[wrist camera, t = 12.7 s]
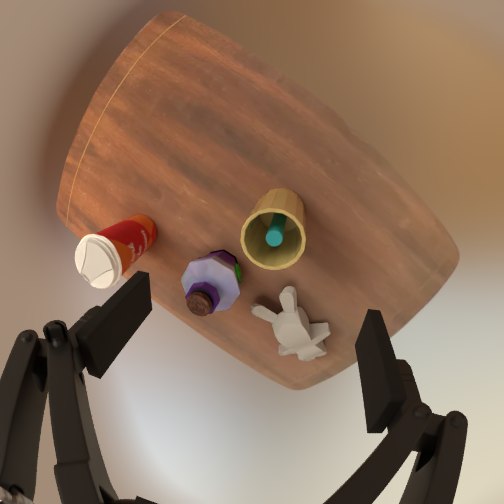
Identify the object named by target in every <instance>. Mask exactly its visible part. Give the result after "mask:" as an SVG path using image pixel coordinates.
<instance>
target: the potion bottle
mask: <svg viewBox="0 0 504 504" xmlns="http://www.w3.org/2000/svg"><path fill="white" fill-rule="evenodd" d="M241 281H242V273H241V269H240V266H239V265H238V263H237V259H236V257H235V256H234V255H232V254H230V253H229V252H227V251H225V250H219V251H213V252H211V253H210V254H209V255H207V256H205V257H200V258H198V259H196V260H194V261H192V262H190V263H189V265H188V267H187V269H186V271H185V273H184V275H183V276H182V278H181V282H182V285H183V288H184V290H185V293H186V296H185V298H186V300H187V306H188V308H189V309H190V311H191V312H192V313H194V314H196V315H198V316H206V315H207V314H211V313H213V312H214V311H220V310H229V309H230V307H231V306H232V304H233V303H234V301H235V300H236V299H237V297H238V296H239V294H240V282H241Z"/></svg>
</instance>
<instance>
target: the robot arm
mask: <svg viewBox="0 0 504 504" xmlns="http://www.w3.org/2000/svg"><path fill="white" fill-rule="evenodd" d="M151 311H152V303H151V292H150V280H149V273H147V272H142V271H137V272H136V273H135V274H134V275H133V276H132V277H131V278H130V279H129V280H128V281H127V282H126V283H125V284H124V285H123V286H122V287H121V288H120V289H119V290H118V291H117V292H116V293H115V294H114V295H113V296H111V297H110V298H109V299H108V300H107V301H106V303H104V305H102V306H101V307H100V306H95V307H93V308H91V309H90V310H88V311H87V312H86V313H85V314H84V316H82V317H81V318H80V320H78V321H77V322H76V323H75V324H74V325H73V326H72V327H71V328H70V329H69V330H67V327H66V324H65V323H64V322H63V321H60V320H54V321H50V322H49V323H47V324H46V325H45V326H44V328H43V332H44V335H45V338H46V339H41V338H38V335H37V333H36V332H35V331H34V330H25V331H23V332H21V333H20V334H19V335H18V337H17V339H16V341H15V344H14V346H13V348H12V350H11V353H10V355H9V358H8V361H7V363H6V366H5V369H4V371H3V374H2V376H1V379H0V504H34V503H33V498H34V494H35V486H36V472H37V460H38V459H37V458H38V450H39V441H40V434H41V426H42V421H43V415H44V409H45V403H46V399H47V394H48V392H49V406H50V416H51V425H52V433H53V439H54V446H55V451H56V458H57V464H56V465H55V466H54V474H55V478H56V483H57V487H58V491H59V495H60V499H61V503H62V504H157V503H154V502H152V501H149V500H146V499H143V498H141V497H138V496H137V497H136V499H135V500H132V499H120V500H119V498H118V496H117V494H116V492H115V490H114V489H113V487H112V485H111V482H110V480H109V477H108V474H107V471H106V468H105V464H104V461H103V458H102V455H101V452H100V448H99V444H98V440H97V437H96V433H95V429H94V425H93V420H92V416H91V412H90V408H89V402H88V397H87V391H86V386H85V380H84V375H83V373H82V371H83V369H84V368H85V367H86V368H87V371H88V373H89V374H90V375H92V376H94V377H97V378H99V379H101V377H102V376H103V375H104V373H105V372H106V370H107V369H108V368H109V366H110V365H111V364H112V362H113V361H114V360H115V358H116V357H117V355H118V354H119V353H120V351H121V350H122V349H123V347H124V346H125V345H126V343H127V342H128V341H129V339H130V338H131V337H132V335H133V334H134V333H135V331H136V330H137V329H138V328H139V326H140V325H141V324H142V322H143V321H144V320H145V318H146V317H147V316H148V315H149V313H150V312H151ZM355 349H356V354H357V360H358V366H359V372H360V379H361V386H362V393H363V401H364V408H365V416H366V424H367V433H382V432H383V431H384V430H385V428H386V427H387V429H388V434H387V435H386V437H385V438H384V439H383V440H382V442H381V443H380V444H379V445H378V446H377V448H376V449H375V450H374V452H372V454H371V455H370V456H369V457H368V458H367V459H366V461H365V462H364V463H363V464H362V465H361V466H360V467H359V468H358V469H357V470H356V472H355V473H354V474H353V475H352V476H351V477H350V478H349V479H348V480H347V481H346V482H345V483H344V484H343V485H342V486H341V487H340V488H339V489H338V490H337V491H336V492H335V493H334V494H333V495H332V496H331V497H330V498H329V499H327V500H326V502H324V503H323V504H372V503H373V502H374V501H375V499H376V498H377V497H378V496H379V495H380V493H381V492H382V491H383V490H384V488H385V487H386V486H387V485H388V483H389V482H390V480H391V479H392V478H393V477H394V475H395V474H396V473H397V471H398V470H399V469H400V467H401V466H402V464H403V463H404V461H405V460H406V459H407V457H408V456H409V454H410V452H411V451H416V452H418V454H417V457H416V460H415V463H414V466H413V469H412V472H411V475H410V477H409V480H408V483H407V485H406V488H405V490H404V493H403V495H402V498H401V500H400V503H399V504H453V500H454V496H455V493H456V488H457V485H458V480H459V476H460V471H461V466H462V461H463V454H464V449H465V443H466V436H467V427H468V421H467V418H466V416H464V415H463V414H462V413H461V412H459V411H451V412H449V413H448V414H447V415H446V416H441V415H437V414H434V413H432V411H431V409H430V407H429V406H428V405H426V404H425V403H423V402H422V401H421V398H420V394H419V391H418V388H417V385H416V382H415V379H414V376H413V372H412V369H411V367H410V365H409V364H408V363H407V362H406V361H405V360H400V359H396V357H395V354H394V350H393V347H392V344H391V341H390V338H389V335H388V332H387V329H386V326H385V323H384V320H383V317H382V315H381V312H380V311H379V310H371V309H368V311H367V314H366V317H365V320H364V322H363V325H362V328H361V330H360V333H359V336H358V338H357V341H356V344H355Z"/></svg>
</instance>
